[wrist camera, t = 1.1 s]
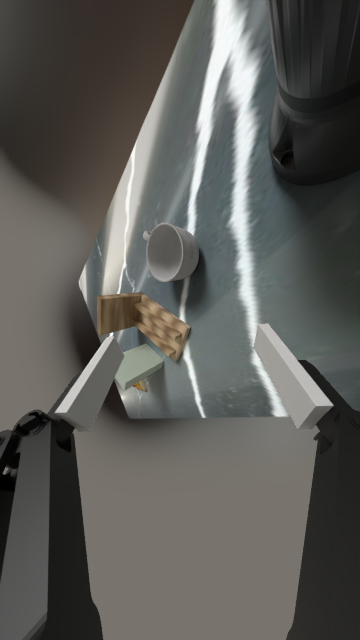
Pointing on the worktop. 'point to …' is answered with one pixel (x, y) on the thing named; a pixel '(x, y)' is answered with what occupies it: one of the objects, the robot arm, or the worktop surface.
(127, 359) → the pale green block
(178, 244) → the teacup
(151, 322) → the track
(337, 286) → the worktop surface
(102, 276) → the worktop surface
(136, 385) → the pizza slice
